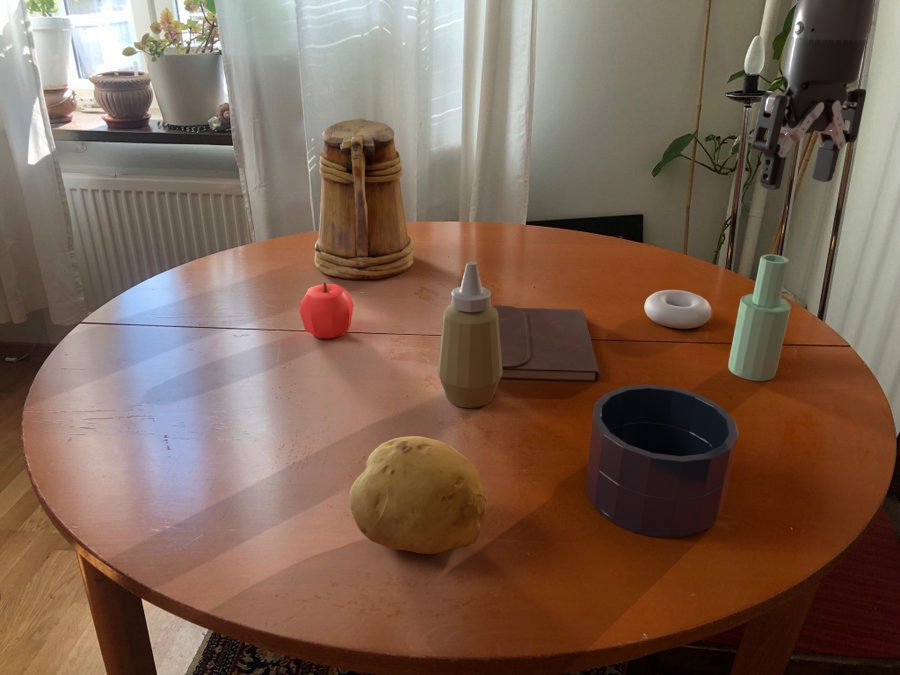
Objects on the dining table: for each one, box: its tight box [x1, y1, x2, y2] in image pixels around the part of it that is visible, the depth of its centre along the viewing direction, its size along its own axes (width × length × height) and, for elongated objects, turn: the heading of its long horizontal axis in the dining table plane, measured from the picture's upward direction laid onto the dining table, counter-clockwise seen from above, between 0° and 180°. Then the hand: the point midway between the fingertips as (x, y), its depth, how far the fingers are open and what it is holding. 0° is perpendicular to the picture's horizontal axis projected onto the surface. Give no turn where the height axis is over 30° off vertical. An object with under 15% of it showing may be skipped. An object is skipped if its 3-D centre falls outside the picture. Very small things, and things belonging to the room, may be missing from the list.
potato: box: [348, 435, 487, 555], centre depth 69 cm, size 10×12×10 cm
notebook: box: [492, 305, 601, 383], centre depth 106 cm, size 15×20×2 cm
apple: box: [299, 281, 354, 340], centre depth 109 cm, size 8×8×8 cm
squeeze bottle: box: [437, 261, 503, 409], centre depth 90 cm, size 8×8×18 cm
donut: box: [643, 289, 712, 330], centre depth 114 cm, size 10×4×10 cm
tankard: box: [313, 117, 415, 281], centre depth 129 cm, size 18×24×25 cm
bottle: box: [727, 253, 792, 382], centre depth 97 cm, size 6×6×16 cm
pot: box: [585, 384, 739, 539], centre depth 74 cm, size 14×14×9 cm
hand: (796, 184), depth 86 cm, fingers open, 8 cm apart
